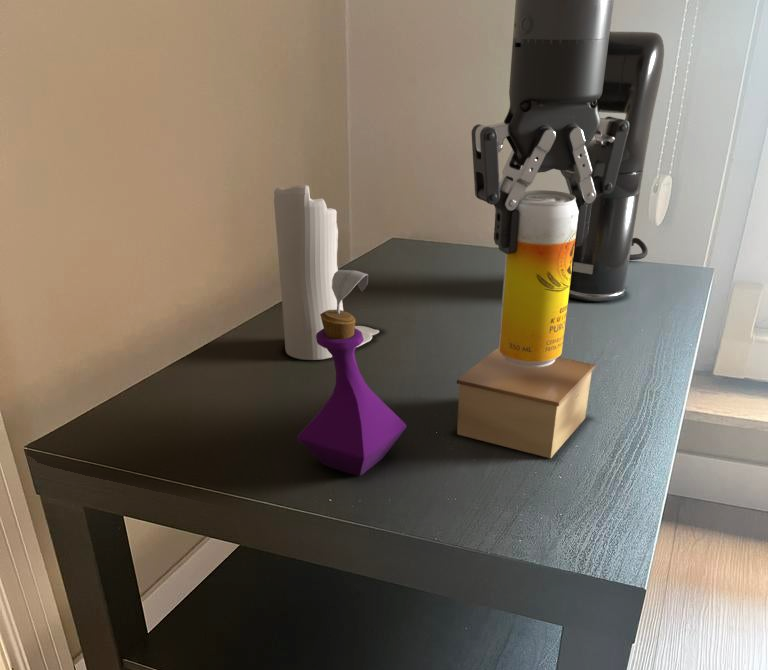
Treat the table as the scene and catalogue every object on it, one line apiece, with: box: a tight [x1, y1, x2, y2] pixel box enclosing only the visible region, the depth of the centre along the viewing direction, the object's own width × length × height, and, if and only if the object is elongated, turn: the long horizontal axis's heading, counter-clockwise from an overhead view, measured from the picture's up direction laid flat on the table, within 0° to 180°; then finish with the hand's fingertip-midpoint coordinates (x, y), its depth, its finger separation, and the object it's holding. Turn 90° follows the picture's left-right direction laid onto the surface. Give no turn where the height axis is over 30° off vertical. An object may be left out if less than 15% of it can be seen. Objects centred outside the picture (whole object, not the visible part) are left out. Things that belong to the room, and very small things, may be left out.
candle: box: [273, 184, 380, 361], centre depth 97 cm, size 7×14×20 cm, turn 137°
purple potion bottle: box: [296, 269, 407, 477], centre depth 71 cm, size 8×8×18 cm
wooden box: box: [456, 346, 596, 459], centre depth 81 cm, size 10×10×6 cm
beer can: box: [498, 189, 579, 368], centre depth 74 cm, size 6×6×15 cm
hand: (539, 247), depth 72 cm, fingers closed on beer can, 6 cm apart
